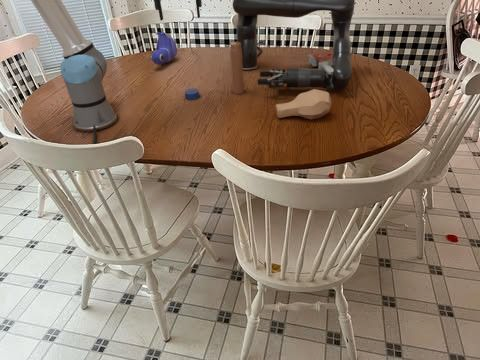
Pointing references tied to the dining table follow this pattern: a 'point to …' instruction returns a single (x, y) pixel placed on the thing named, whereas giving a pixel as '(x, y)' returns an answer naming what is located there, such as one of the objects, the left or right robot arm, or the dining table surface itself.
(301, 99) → the squash
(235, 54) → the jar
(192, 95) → the lid
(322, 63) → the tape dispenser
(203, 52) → the dining table surface
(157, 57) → the toy
